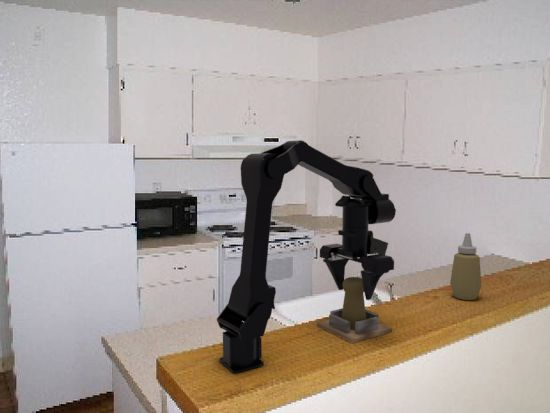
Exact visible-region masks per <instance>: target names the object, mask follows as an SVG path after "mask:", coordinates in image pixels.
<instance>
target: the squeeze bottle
mask: <svg viewBox="0 0 550 413" xmlns="http://www.w3.org/2000/svg"><path fill="white" fill-rule="evenodd" d="M463 237H464V238H463V241H462V244H460V245H458V247H457V252H456V253H455V254H453V262H452V268H451V275H450V281H449V284H450V287H451V290H452V293H453V297H454V298H456V299H458V300H463V301H474V300H476V299H477V298H478V296H479V294H480V291H481V289H482V287H483V286H482V274H481V272H482V270H481V260H480V258H481V257H480V256H479V255H478V254H477V247H476V246H474V245H473V242H472V237H471V233H469V232H467V233H465V234H464V236H463Z"/></svg>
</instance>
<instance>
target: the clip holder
mask: <svg viewBox="0 0 550 413" xmlns="http://www.w3.org/2000/svg"><path fill="white" fill-rule="evenodd" d="M342 309H343V307H342V308H339V309H333V310H330V312H329V315H328V319H325V320H321V321H318V322H316V326H317V327H318V328H320V329H322V330H324V329H325V330H324V331H326V330H327V331H326V332H328V331H329V332H328V333H330V332H331V333H330V334H332V333H333V334H332V335H334V334H336V335H337V336H336V335H335V336H336V337H338V336H340V337H341V338H340V337H339V338H340V339H342V338H344V339H345V340H344V339H343V340H344V341H346V340H347V341H346V342H348V341H349V342H348V343H350V344H354V343H358V342H361V341H364V340H367V339H371V338H375V337H379V336H382V335H386V334H389V333H392V332H393V328H392V327H390V326H388V325H385V324H383V323H380V322H379V321H380V320H379V319H380V318H379V314H378V313H375V312H372V311H371V310H368V309H366V308H365V312H366V320H362V321H358V322H355V330H350V321H347V320H345V319H343V318H341V316H342Z"/></svg>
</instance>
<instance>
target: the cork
mask: <svg viewBox="0 0 550 413" xmlns="http://www.w3.org/2000/svg"><path fill="white" fill-rule="evenodd" d="M343 291H344V296H343V305H342V308H343V309H342V308H341V309H342V316H341V318H343V319H345V320H347V321H350V330H355V322H358V321H362V320H366V312H365V309H366V306H365V304H366V303H365V293H364V288H363V282H362V277H359V276H358V277H357V276H349V277H346V278H344V281H343Z"/></svg>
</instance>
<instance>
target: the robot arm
mask: <svg viewBox="0 0 550 413" xmlns="http://www.w3.org/2000/svg"><path fill="white" fill-rule="evenodd" d="M297 166H300V167H303V168H304V169H306V170H308V171H310V172H312V173H314V174H315V175H318V176H320V177H322V178H324V179H325V180H328V181H329V182H330V183H332V185H333V188H335V189H336V190H337V192H338V191H339V193H341V194H342V196H341V197H340V199H338V200H337V201H336V202H335V204H334V205H335V207H340V208H342V219H341V220H342V224H341V225H342V226H341V227H342V229H339V230H338V232H337V233H338V234H337V235H339V236H342V237H341V244H340V243H332V244H323V245H322V246H321V247H320V249H319V258H321V259H322V262H323V263H325V265H326V266H327V269H328V271H329V272H330V274H331V276H332V279H333V281H334V282H335V285H336V288H337V289H338V291H341V290H343V281H344V280H345V276H346V275H345V274H346V266H347V264H348V262H349V261H351V262H352V261H353V262H356V263H360V264H361V268H362V269H363V270H360V276H361V278H362V282H363V288H364V293H363V294H364V298H365V300H366V301H371V299H372V298H373V296H374V293H375V289H376V287H377V285H378V283H379V281H380V279H381V277H382V276H383V275H385V274H388V273H389V272H390V271H393V270H395V259H393V257H392V256H390V255H386V252H387V250H388V246H389V242H387V241H385V240H384V241H383V240H381V239H378V238H375V237H374V232H373V230H370V229H369V225H375V224H376V225H377V224H383V223H390V222H392V221H393V220H394V218H395V216H396V212H397V211H396V210H397V209H396V208H395V205H394V203H393V201H392V200H391V199H390V194H389V193H382V192H381V190H380V188H379V186H378V184H377V183H376V180H375V178H374V174H373V173H372V172H371V171H370V170H368V169H365V168H361V167H357V166H351V165H346V164H343V163H342V162H341V161H338V160H337V159H334V158H333V157H331V156H329V155H328V154H326V153H324V152H322V151H320V150H318V149H316V148H314V147H313V146H311V145H309V144H308V143H307V142H306V141H304V140H299V139H298V140H287V141H286V142H284V143H282V144H280V145H278V146H276V147H272V148H270V149H268V150H264V151H262V152H259V153H250V154H248V155H247V156H246V157H244V158H243V159H242V161H241V164H240V181H241V187H242V190H243V193H244V195H245V199H246V207H245V217H244V218H245V219H244V228H243V229H244V230H243V239H242V248H241V249H242V250H241V261H240V272H239V275H238V277H237V279H236V280H235V282H234V283H233V285H232V286H231V290H230V294H229V295H230V296H229V298H228V299H229V300H228V303H227V304H226V305H225V307H224V309H222V311H221V312H220V314H219V315H218V316H217V318H216V322H217V325H218V327H219V328H220V329H222V330H224V331H223V332H222V356H221V357H219V359H218V360H219V362H220V363H221V364H222V365H223V366H225V367H226V369H228V370H229V371H230V372H232V373H233V374H237V373H240V372H245V371H249V370H252V369H255V368H258V367H262V366H264V365H265V362H264V361H263V360H262V356H263V355H262V353H263V352H262V345H263V344H262V342H263V341H262V337H264V336H265V333H266V332H265V331H266V330H267V329H266V328H267V326H268V322H269V320H270V319H271V316H272V312H273V310H275V309H276V306H275V296H276V292H277V290H276V287H275V286H272V285H269V283H268V280H267V266H268V255H269V254H268V253H269V243H270V242H269V241H270V234H271V224H272V223H271V221H272V212H273V203H274V201H275V199H276V197H277V195H278V194H279V192H280V190H281V189H282V187H283V181H284V177H285V175H286V174H288V173H289V172H292V171H294V169H295V168H296V167H297ZM343 291H344V290H343Z"/></svg>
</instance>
